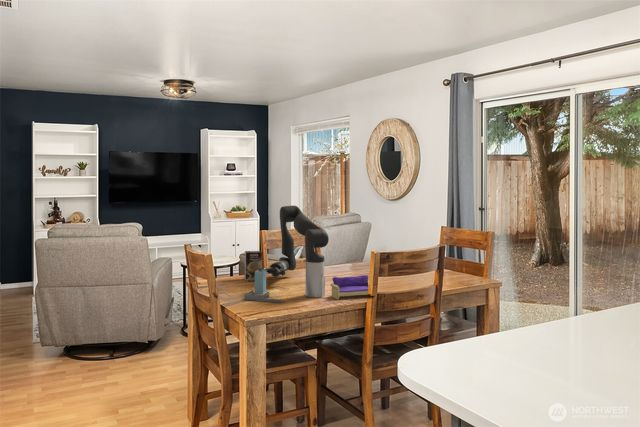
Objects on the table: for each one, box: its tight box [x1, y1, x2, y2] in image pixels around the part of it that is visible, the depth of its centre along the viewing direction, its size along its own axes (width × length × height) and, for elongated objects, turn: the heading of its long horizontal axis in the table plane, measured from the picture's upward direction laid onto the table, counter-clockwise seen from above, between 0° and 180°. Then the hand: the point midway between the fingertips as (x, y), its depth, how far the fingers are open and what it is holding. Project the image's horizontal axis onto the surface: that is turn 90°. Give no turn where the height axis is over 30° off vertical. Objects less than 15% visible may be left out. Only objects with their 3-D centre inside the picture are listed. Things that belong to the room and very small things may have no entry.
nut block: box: [254, 270, 267, 295], centre depth 276 cm, size 4×4×11 cm
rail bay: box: [243, 289, 284, 304], centre depth 262 cm, size 19×10×2 cm, turn 75°
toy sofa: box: [330, 273, 370, 300], centre depth 271 cm, size 21×9×10 cm, turn 110°
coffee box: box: [243, 250, 263, 282], centre depth 309 cm, size 9×6×16 cm
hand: (267, 273), depth 287 cm, fingers open, 8 cm apart
